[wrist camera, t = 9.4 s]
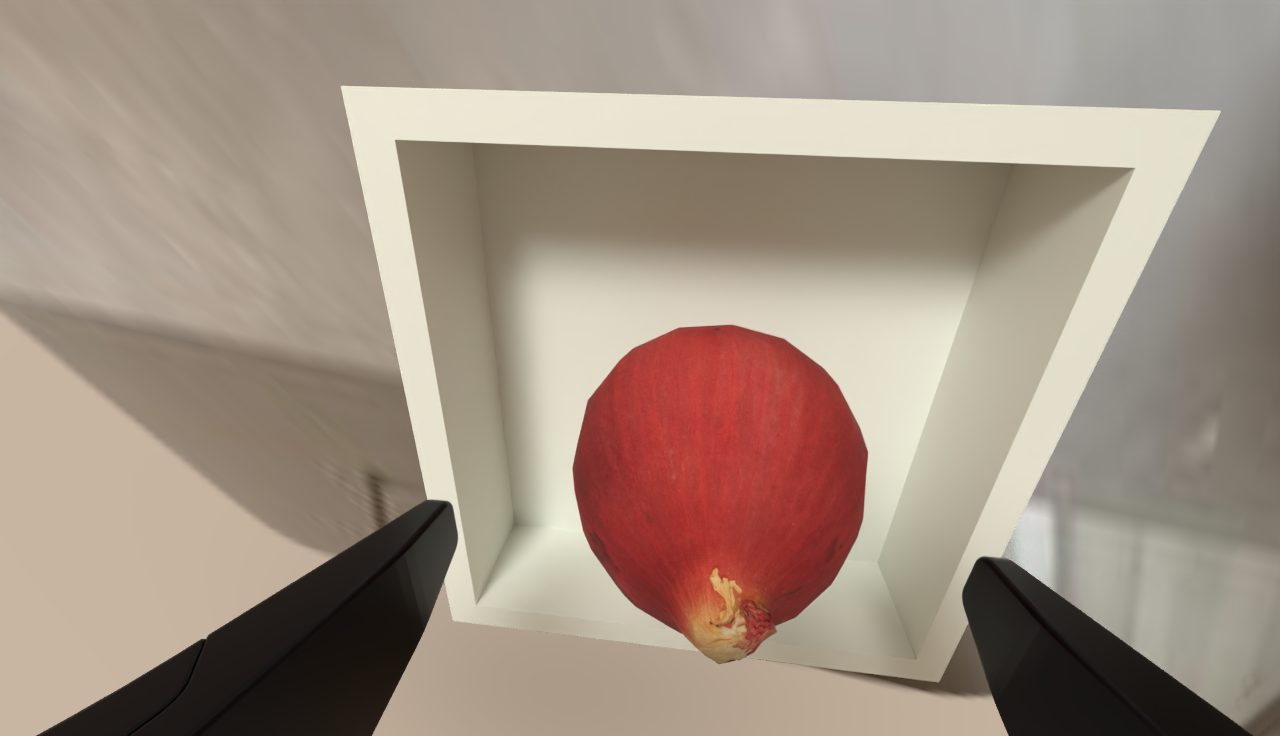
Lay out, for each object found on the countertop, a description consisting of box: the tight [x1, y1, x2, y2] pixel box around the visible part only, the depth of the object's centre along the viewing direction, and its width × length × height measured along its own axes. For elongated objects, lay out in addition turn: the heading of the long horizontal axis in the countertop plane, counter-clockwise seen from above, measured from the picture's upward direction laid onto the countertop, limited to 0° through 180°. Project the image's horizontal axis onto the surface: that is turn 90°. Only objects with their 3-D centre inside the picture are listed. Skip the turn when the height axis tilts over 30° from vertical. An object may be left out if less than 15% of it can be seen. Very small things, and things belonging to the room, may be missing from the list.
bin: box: [341, 86, 1221, 682], centre depth 13 cm, size 14×14×4 cm
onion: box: [572, 324, 868, 664], centre depth 10 cm, size 6×6×8 cm
